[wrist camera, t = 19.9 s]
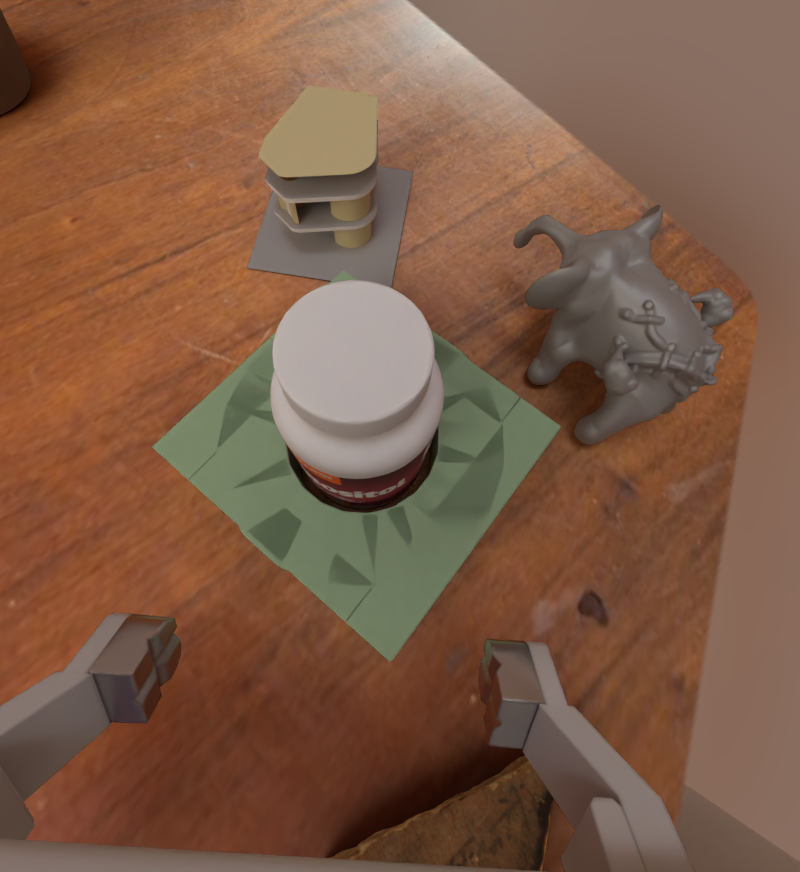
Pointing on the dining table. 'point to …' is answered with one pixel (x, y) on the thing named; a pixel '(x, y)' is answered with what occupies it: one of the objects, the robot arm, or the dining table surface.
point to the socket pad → (361, 531)
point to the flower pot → (11, 70)
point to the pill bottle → (356, 390)
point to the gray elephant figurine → (623, 323)
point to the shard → (473, 827)
